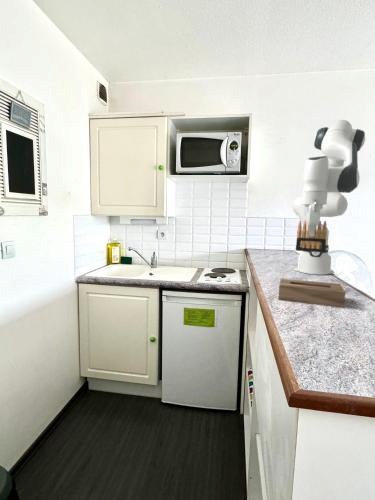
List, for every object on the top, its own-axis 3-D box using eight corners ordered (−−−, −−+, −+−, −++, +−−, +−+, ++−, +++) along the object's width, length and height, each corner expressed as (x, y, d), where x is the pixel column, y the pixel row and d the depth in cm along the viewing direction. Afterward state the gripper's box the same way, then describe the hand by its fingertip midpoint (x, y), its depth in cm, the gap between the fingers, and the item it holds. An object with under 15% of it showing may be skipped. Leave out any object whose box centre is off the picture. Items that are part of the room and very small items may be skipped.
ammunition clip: (325, 251, 107) (327, 220, 105) (325, 252, 105) (328, 220, 104) (295, 249, 111) (297, 219, 109) (295, 250, 109) (297, 220, 108)
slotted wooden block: (280, 291, 106) (280, 278, 105) (338, 297, 99) (340, 283, 98) (278, 299, 96) (279, 285, 95) (343, 307, 89) (345, 292, 88)
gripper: (325, 198, 95) (322, 239, 97) (321, 201, 114) (318, 234, 116) (305, 199, 97) (303, 238, 99) (304, 201, 116) (302, 233, 118)
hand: (311, 236), depth 107 cm, fingers closed on ammunition clip, 1 cm apart
